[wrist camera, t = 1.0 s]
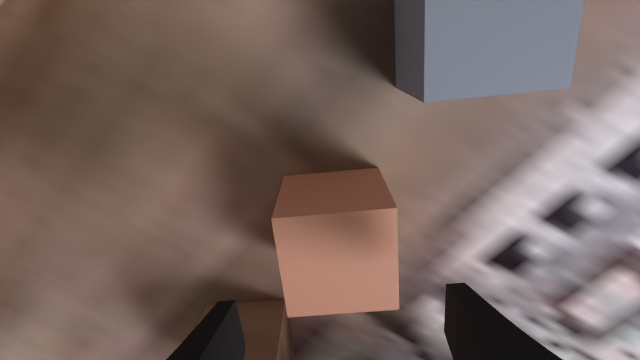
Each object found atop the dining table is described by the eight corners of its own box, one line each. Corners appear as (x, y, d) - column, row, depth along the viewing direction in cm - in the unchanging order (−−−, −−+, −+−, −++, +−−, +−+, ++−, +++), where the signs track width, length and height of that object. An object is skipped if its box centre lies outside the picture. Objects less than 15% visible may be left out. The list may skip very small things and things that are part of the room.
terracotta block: (381, 248, 20) (399, 309, 15) (295, 255, 20) (287, 317, 15) (378, 167, 18) (397, 208, 13) (284, 175, 18) (271, 218, 14)
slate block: (500, 77, 16) (570, 88, 12) (395, 87, 17) (424, 102, 12) (510, -44, 15) (598, -87, 10) (393, -31, 15) (425, -67, 10)
